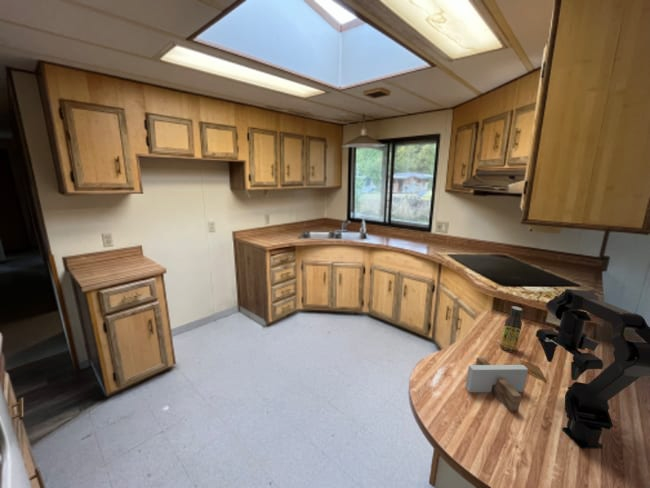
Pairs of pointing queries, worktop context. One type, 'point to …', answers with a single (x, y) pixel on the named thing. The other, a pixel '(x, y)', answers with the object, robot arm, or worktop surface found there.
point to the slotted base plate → (504, 391)
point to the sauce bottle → (511, 330)
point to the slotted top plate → (495, 377)
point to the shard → (533, 369)
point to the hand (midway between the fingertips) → (561, 370)
